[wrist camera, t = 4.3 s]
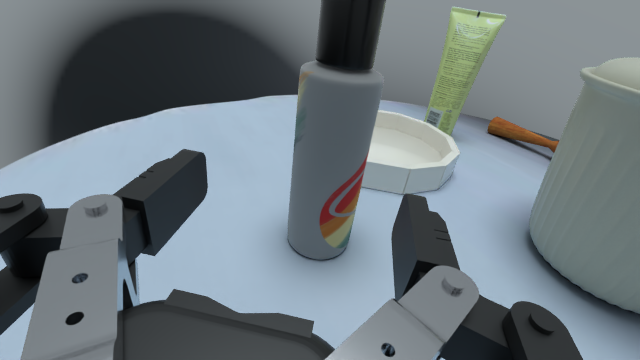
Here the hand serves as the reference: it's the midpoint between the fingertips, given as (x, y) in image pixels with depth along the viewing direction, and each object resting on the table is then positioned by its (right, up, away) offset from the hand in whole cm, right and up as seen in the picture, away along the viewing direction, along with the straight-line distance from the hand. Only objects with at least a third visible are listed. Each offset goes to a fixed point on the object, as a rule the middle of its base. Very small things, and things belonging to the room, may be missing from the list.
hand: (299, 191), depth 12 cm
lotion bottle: (+1, -5, +16) cm, 17 cm away
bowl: (+10, +4, +33) cm, 34 cm away
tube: (+21, +8, +42) cm, 48 cm away
